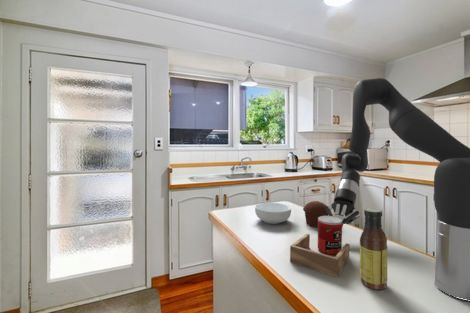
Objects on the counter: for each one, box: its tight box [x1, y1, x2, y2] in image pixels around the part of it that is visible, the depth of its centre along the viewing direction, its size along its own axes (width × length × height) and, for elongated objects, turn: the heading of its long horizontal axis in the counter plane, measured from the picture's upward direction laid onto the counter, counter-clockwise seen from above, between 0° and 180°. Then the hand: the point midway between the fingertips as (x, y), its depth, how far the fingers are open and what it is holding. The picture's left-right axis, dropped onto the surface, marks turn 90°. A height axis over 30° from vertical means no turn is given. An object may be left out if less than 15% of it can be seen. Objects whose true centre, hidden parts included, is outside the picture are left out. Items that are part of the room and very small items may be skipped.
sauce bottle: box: [359, 207, 388, 291], centre depth 62 cm, size 6×6×20 cm
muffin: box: [302, 201, 329, 228], centre depth 109 cm, size 12×11×10 cm
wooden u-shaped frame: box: [289, 233, 351, 278], centre depth 75 cm, size 13×14×5 cm
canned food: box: [317, 215, 343, 257], centre depth 82 cm, size 8×8×11 cm
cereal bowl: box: [254, 202, 292, 225], centre depth 113 cm, size 17×17×7 cm
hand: (336, 231), depth 88 cm, fingers closed
